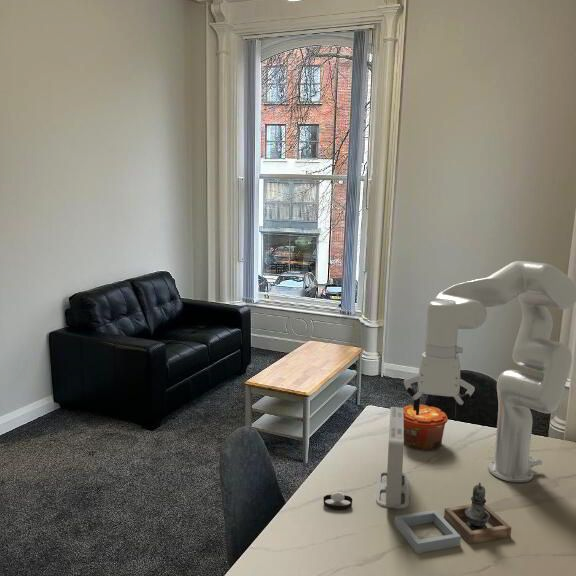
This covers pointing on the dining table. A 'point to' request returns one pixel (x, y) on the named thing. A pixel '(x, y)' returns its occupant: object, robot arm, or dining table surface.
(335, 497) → the watch
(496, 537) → the walnut collar
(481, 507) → the marbled chess piece
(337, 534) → the dining table surface
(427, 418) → the food container
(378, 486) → the network device
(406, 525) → the slate-grey collar
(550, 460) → the dining table surface
